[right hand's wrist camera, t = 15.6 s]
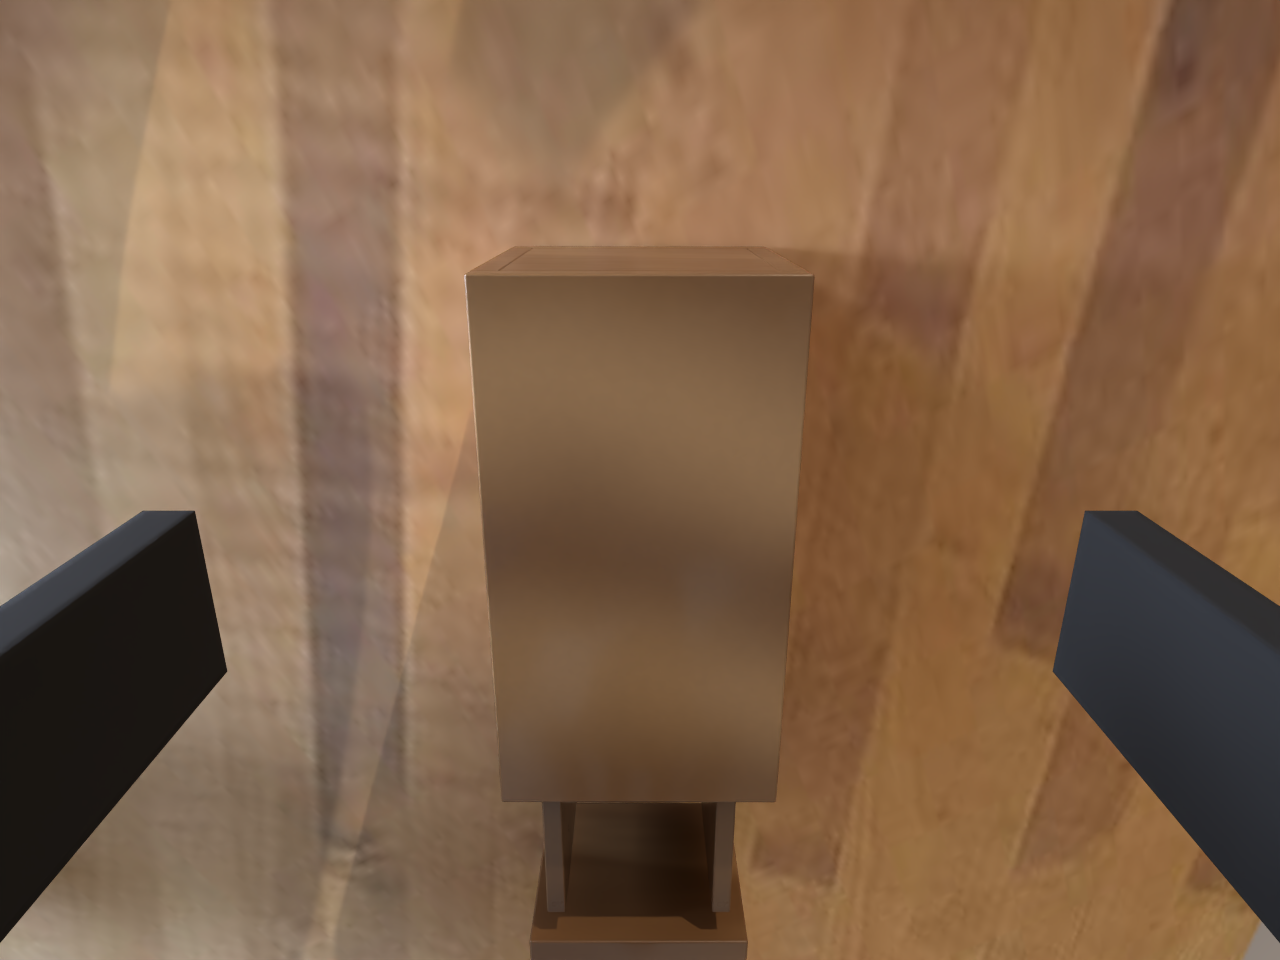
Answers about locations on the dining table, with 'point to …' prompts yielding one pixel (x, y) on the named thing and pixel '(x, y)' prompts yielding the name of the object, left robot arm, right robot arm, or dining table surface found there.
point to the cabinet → (639, 514)
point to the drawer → (638, 883)
